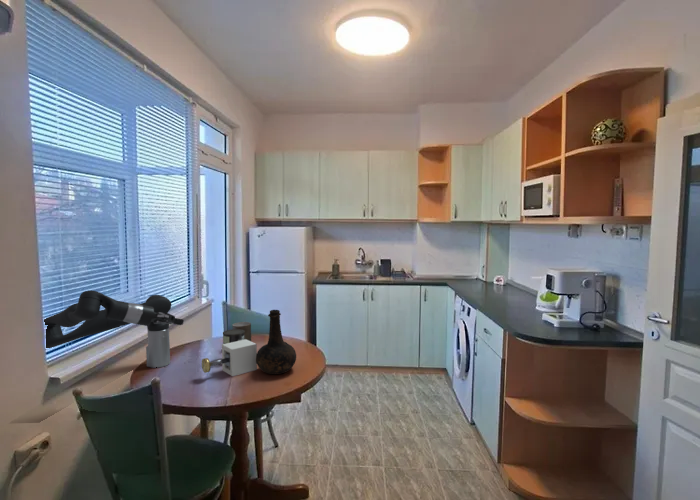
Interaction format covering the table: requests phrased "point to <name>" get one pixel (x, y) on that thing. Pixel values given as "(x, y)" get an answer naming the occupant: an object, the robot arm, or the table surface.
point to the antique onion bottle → (275, 349)
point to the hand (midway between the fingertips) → (182, 322)
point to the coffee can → (233, 335)
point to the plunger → (214, 363)
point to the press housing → (240, 357)
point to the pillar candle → (246, 327)
